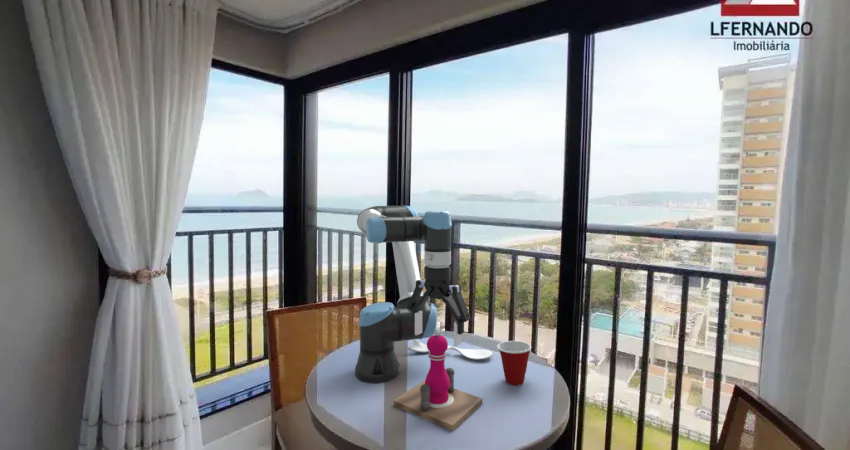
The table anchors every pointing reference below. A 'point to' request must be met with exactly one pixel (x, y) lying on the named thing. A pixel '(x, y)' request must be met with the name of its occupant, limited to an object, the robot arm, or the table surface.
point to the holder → (439, 414)
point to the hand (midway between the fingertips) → (437, 339)
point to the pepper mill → (437, 369)
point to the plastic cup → (514, 360)
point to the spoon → (468, 353)
